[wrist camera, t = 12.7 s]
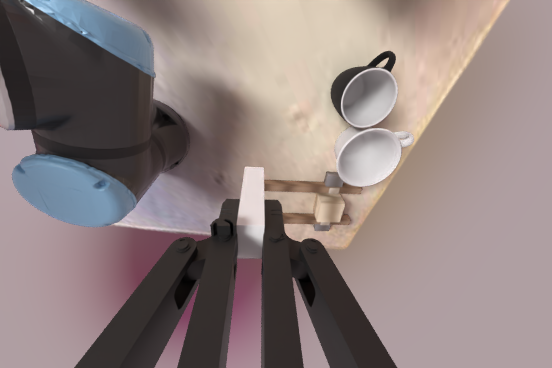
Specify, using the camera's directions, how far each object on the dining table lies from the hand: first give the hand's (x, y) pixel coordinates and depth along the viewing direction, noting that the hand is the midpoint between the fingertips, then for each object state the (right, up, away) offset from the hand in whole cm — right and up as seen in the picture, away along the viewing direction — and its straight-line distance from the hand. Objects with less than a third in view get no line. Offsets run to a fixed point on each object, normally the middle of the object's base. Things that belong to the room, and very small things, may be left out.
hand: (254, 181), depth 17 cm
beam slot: (+10, -5, +39) cm, 40 cm away
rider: (+15, -5, +39) cm, 42 cm away
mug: (+17, +20, +24) cm, 35 cm away
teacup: (+20, +10, +30) cm, 37 cm away
